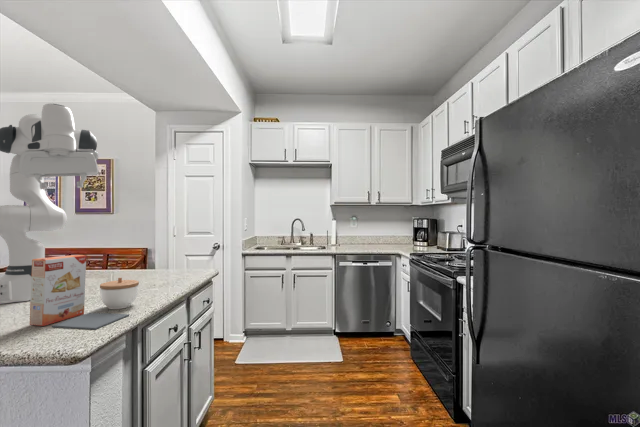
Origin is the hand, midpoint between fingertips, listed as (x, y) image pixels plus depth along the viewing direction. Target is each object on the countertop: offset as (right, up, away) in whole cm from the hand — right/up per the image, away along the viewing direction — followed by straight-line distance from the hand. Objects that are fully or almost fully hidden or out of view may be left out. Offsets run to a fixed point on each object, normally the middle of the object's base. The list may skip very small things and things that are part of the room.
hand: (62, 188), depth 103 cm
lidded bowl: (+7, -44, +18) cm, 48 cm away
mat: (+10, -44, +1) cm, 45 cm away
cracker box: (-3, -44, +2) cm, 44 cm away
